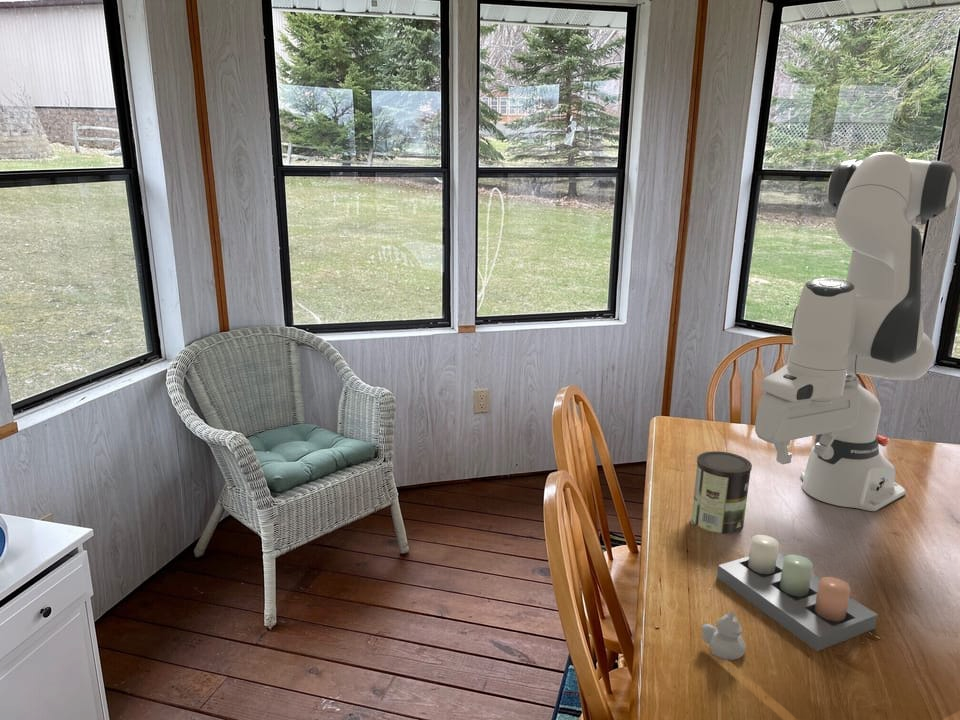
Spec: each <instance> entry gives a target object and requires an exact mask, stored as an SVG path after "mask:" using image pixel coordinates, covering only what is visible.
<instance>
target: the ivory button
mask: <svg viewBox="0 0 960 720" xmlns="http://www.w3.org/2000/svg"><path fill="white" fill-rule="evenodd" d="M779 546H780V542H779V541H778V540H777V539H775V538H774V537H772V536H769V535H767V534H765V535H764V534H756V535H753V536H752V537H751V541H750V547H749V548H750V549H749V555H748V556H749V561H748V566H749V568H750V569H752V570H753V571H755V572H757V573H761V574H771V573H773V572H774V571H775V567H776V560H777V554H778V552H779Z"/></svg>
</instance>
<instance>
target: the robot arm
mask: <svg viewBox="0 0 960 720" xmlns="http://www.w3.org/2000/svg"><path fill="white" fill-rule="evenodd" d="M957 182H958V181H957V177H956V174H955V169H954V167H953V166H952V165H951V164H950V163H947V162H945V161H942V160H941V161H940V160H936V159H935V160H934V159H932V160H931V161H929V160H922V159H916V158H915V159H913V158H905V157H904V156H902V155H900V154H899V153H895V152H890V151H882V152H876V153H873V154H871V155H869V156H867V157H865V158H864V159H863V160H859V159H850V160H845V161H842V162H841V163H839V164H838V165H837V166H836V167H834V168H833V170H832V173H831V174H830V177H829V178H828V182H827V186H826V194H827V199H828V204H829V205H830V206H831V208H832V209H833V210H834V211H836V217H835V229H836V232H837V235H838V236H839V237H840V239H841V240H842V242H843V243H844V244H845V245H846V246H847V247H849V248H850V249H852V252H851V256H850V261H849V265H848V270H847V275H846V280H845V279H841V278H835V277H822V278H815V279H812V280H809V281H807V282H806V283H804V285H803V287H802V290H801V292H800V296H799V300H798V302H797V306H796V307H795V310H794V314H793V319H792V324H791V325H792V326H791V336H792V348H791V350H790V353H789V355H788V359H787V364H785V365H783V366H782V367H781V368H779V369H778V370H777V371H774V372H772V373H771V374H769V375H767V376H765V377H764V378H763V379H762V381H761V383H760V384H761V385H760V388H761V391H763V392H764V394H762V396H761V397H760V398H759V402H758V405H757V410H756V416H755V423H754V432H755V434H756V436H757V437H758V439H760V440H762V441H765V442H767V443H769V444H771V445H774V448H775V450H776V459H775V460H776V462H777V463H779V464H780V465H786V464H790V463H791V462H792V457H793V453H791V452H789V451H788V450H789V449H788V447H789V446H790V444H791V441H794V440H799V439H804V438H808V437H814V436H815V438H814V445H813V446H812V447H811V449H810V452H809V456H808V459H807V463H806V466H805V471H802V472H801V473H800V478H801V480H802V483H801V488H802V490H803V491H804V492H805V493H806V494H807V495H809V496H810V497H812V498H814V499H815V500H818V501H821V502H823V503H827V504H829V505H835V506H838V507H843V508H845V507H846V508H853V509H855V508H856V509H860V510H864V511H869V512H876V511H878V510H880V509H881V508H883V507H885V506H887V505H888V504H890V503H892V502H894V501H895V500H897V499H899V498H901V497H903V496H905V494H906V489H905V488H904V487H903V486H902V485H900V484H899V483H897V482H895V479H896V468H895V466H894V465H893V464H892V463H891V462H890V460H888V459H887V458H886V457H884V455H882V454H881V453H880V447H879V445H880V446H881V447H886V446H887V445H888V444H889V438H888V437H886V436H882V435H880V434H878V435H877V433H878V427H879V422H880V417H881V412H882V407H881V403H880V401H879V399H878V398H877V396H876V395H874V394H873V393H872V392H870V391H869V390H868V389H866V388H864V386H862V385H861V384H860V383H859V380H858V379H857V377H856V376H855V374H856V375H864V376H870V377H876V378H879V379H887V380H890V381H891V380H897V381H898V380H899V381H903V380H904V381H905V380H908V381H910V380H911V381H912V380H914V381H915V380H918V379H920V378H922V377H923V376H924V375H925V374H926V373H927V372H928V371H929V370H930V369H931V367H932V365H933V362H934V358H935V348H934V345H933V342H932V340H931V339H930V337H929V336H928V335H927V334H926V333H925V332H924V331H925V329H924V328H925V327H924V324H925V323H924V317H923V313H922V307H921V306H922V305H921V302H922V301H921V299H922V298H921V297H922V286H923V285H922V281H923V279H922V277H923V253H922V252H923V248H922V247H923V241H922V240H923V239H922V234H921V232H920V229H919V227H918V228H917V227H916V218H919V217H920V225H921V226H922V225H926V223H927V221H928V220H930V219H931V220H932V219H935V218H937V217H938V216H939V215H941V214H943V212H945V211H947V209H948V206H949V205H950V204H951V202H952V201H953V199H954V197H955V196H956V191H957Z"/></svg>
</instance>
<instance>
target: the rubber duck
mask: <svg viewBox="0 0 960 720" xmlns="http://www.w3.org/2000/svg"><path fill="white" fill-rule="evenodd" d="M734 613H735V611H734V610H732V611H730V612H728V613H727V614H726V613H725V614H724V615H722V616H721V617H719V619H718V620H717V621H716V624H715V625H716V626H714V625H712V624H710V623H704V624H703V625H702V626H701V631H702V637H701V638H702V641H703V642H704V643H707V644H708V645H709V648H710V652H711V653H712V655H713V656H715V657H717V658H719V659H721V660H724V661H727V662H729V661H730V660H731V661H733V660H738V659H740V658H742V656H743V655H744V654H745V652H746V649H747V648H746V647H747V646H746V643H745V640H744V638H743V636H742V635H741V634H743V629H742V628H743V627H741V625H740V623H739V620H738V617H736V616H735V614H734Z"/></svg>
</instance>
